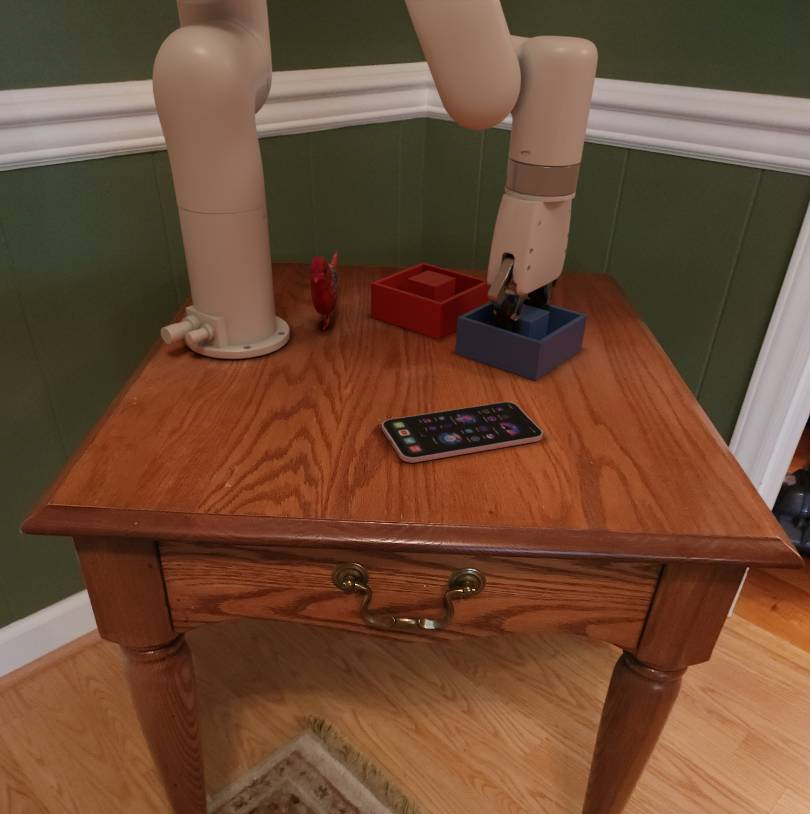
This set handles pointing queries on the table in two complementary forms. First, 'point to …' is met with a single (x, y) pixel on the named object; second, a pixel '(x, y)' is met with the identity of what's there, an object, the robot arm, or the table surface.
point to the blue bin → (520, 341)
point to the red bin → (426, 301)
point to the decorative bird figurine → (324, 286)
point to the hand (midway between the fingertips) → (518, 340)
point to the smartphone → (460, 431)
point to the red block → (432, 285)
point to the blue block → (533, 322)
